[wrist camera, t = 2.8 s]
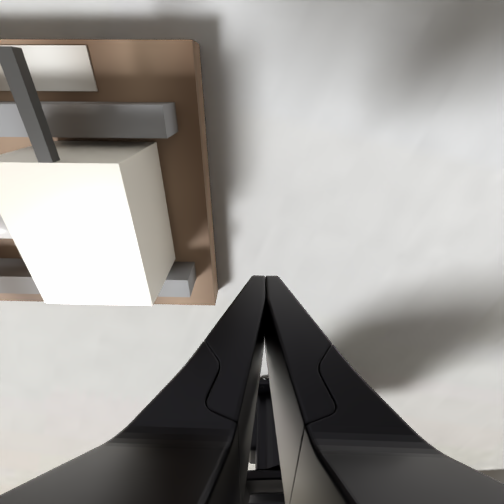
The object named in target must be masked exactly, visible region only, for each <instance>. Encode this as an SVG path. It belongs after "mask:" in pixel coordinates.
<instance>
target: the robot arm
mask: <svg viewBox="0 0 504 504" xmlns="http://www.w3.org/2000/svg"><path fill="white" fill-rule="evenodd" d="M264 338H265V352H266V359H267V367H268V375H269V380H260V372H261V365H262V357H263V349H264ZM249 462H250V463H251V464H255V470H248V463H249ZM247 470H248V471H247ZM0 504H504V484H503V483H501V482H499V481H497V480H495V479H493V478H491V477H489V476H487V475H485V474H483V473H481V472H479V471H477V470H475V469H473V468H471V467H469V466H467V465H465V464H463V463H461V462H459V461H456V460H454V459H452V458H450V457H449V456H447V455H445V454H443V453H442V452H440V451H439V450H437V449H436V448H434V447H433V446H432V445H430V444H429V443H427V442H426V441H425V440H424V439H423V438H422V437H420V436H419V435H418V434H417V433H416V432H415V431H414V430H413V429H412V428H411V427H410V426H409V425H408V424H407V423H406V422H405V421H404V420H403V419H402V418H401V417H400V416H399V415H398V414H397V413H396V412H395V411H394V410H393V409H392V408H391V407H390V406H389V405H388V404H387V403H386V402H385V401H384V400H383V399H382V398H381V397H380V396H379V395H378V394H377V393H376V392H375V391H374V390H373V389H372V388H371V387H370V386H369V385H368V384H367V383H366V382H365V381H364V380H363V379H362V378H361V376H360V375H359V374H358V373H357V372H356V371H355V370H354V369H353V368H352V367H351V366H350V364H349V363H348V362H347V361H346V360H345V358H344V357H343V356H342V355H341V354H340V352H339V351H338V350H337V349H336V347H335V346H334V345H332V343H331V341H330V340H329V339H328V338H327V336H326V335H325V334H324V333H323V331H322V330H321V329H320V328H319V326H318V325H317V324H316V323H315V321H314V320H313V319H312V318H311V316H310V315H309V314H308V313H307V311H306V310H305V309H304V308H303V306H302V305H301V304H300V303H299V301H298V300H297V299H296V298H295V296H294V295H293V294H292V293H291V291H290V290H289V289H288V288H287V286H286V285H285V284H284V283H283V281H282V280H281V279H280V278H279V277H278V276H266V277H265V276H256V275H254V276H252V277H251V278H250V280H249V281H248V282H247V284H246V285H245V286H244V288H243V289H242V290H241V292H240V293H239V294H238V296H237V297H236V298H235V300H234V301H233V302H232V304H231V305H230V306H229V308H228V309H227V310H226V312H225V313H224V314H223V316H222V317H221V318H220V320H219V321H218V322H217V324H216V325H215V327H214V328H213V329H212V331H211V332H210V333H209V335H208V336H207V337H206V339H205V340H204V342H202V344H201V345H200V346H199V348H198V349H197V351H196V352H195V353H194V354H193V356H192V357H191V358H190V359H189V361H188V362H187V363H186V364H185V366H184V367H183V368H182V369H181V370H180V371H179V372H178V373H177V374H176V375H175V377H174V378H173V379H172V380H171V381H170V382H169V383H168V384H167V385H166V386H165V387H164V388H163V389H162V390H161V391H160V393H159V394H158V395H157V396H156V397H155V398H154V399H153V400H152V401H151V402H150V403H149V404H148V405H147V406H146V407H145V408H144V409H143V410H142V411H141V412H140V414H139V415H138V416H137V417H136V418H135V419H134V420H133V421H132V422H131V423H130V424H129V425H128V426H127V427H126V428H124V429H123V430H122V431H121V432H120V433H118V434H117V435H116V436H115V437H113V438H112V439H110V440H109V441H107V442H106V443H104V444H102V445H100V446H98V447H96V448H94V449H92V450H90V451H88V452H86V453H84V454H82V455H80V456H78V457H76V458H74V459H72V460H70V461H68V462H66V463H64V464H62V465H60V466H58V467H56V468H54V469H52V470H50V471H48V472H46V473H44V474H42V475H40V476H38V477H36V478H34V479H32V480H30V481H28V482H26V483H24V484H22V485H20V486H18V487H16V488H14V489H12V490H10V491H8V492H6V493H4V494H2V495H0Z"/></svg>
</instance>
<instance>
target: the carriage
mask: <svg viewBox="0 0 504 504" xmlns="http://www.w3.org/2000/svg"><path fill="white" fill-rule="evenodd" d="M0 64H1V67H2V70H3V72H4V75H5V77H6V80H7V82H8V85H9V88H10V90H11V93H12V95H13V98H14V101H15V103H16V106H17V108H18V111H19V113H20V116H21V119H22V121H23V124H24V126H25V129H26V132H27V134H28V137H29V139H30V142H31V145H32V146H29V147H26V148H22V149H19V150H15V151H11V152H8V153H4V154H1V155H0V238H5V239H13V240H14V242H15V244H16V246H17V248H18V250H19V252H20V254H21V256H22V258H23V260H24V262H25V264H26V266H27V268H28V270H29V272H30V274H31V276H32V278H33V280H34V282H35V284H36V286H37V288H38V290H39V292H40V294H41V296H42V298H43V300H44V302H45V304H86V305H130V306H153V305H154V302H155V300H156V298H157V296H158V294H159V292H160V290H161V288H162V286H163V284H164V282H165V280H166V278H167V276H168V273H169V271H170V269H171V267H172V265H173V263H174V261H175V259H176V258H175V252H174V246H173V240H172V234H171V228H170V221H169V215H168V209H167V203H166V197H165V191H164V185H163V179H162V173H161V167H160V161H159V155H158V149H157V143H156V142H120V141H53V138H52V135H51V132H50V129H49V126H48V123H47V120H46V117H45V115H44V112H43V109H42V106H41V103H40V100H39V97H38V94H37V91H36V88H35V86H34V83H33V80H32V77H31V74H30V71H29V68H28V65H27V62H26V60H25V57H24V54H23V51H22V48H19V47H12V46H0Z"/></svg>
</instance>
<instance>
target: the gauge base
mask: <svg viewBox="0 0 504 504" xmlns="http://www.w3.org/2000/svg"><path fill="white" fill-rule="evenodd" d="M0 46H12V47H19V48H22V51H23V54H24V57H25V60H26V62H27V65H28V68H29V71H30V74H31V77H32V80H33V83H34V86H35V88H36V91H37V94H38V97H39V100H40V103H41V106H42V109H43V112H44V115H45V117H46V120H47V123H48V126H49V129H50V132H51V135H52V138H53V141H120V142H156V143H157V149H158V155H159V161H160V167H161V173H162V179H163V185H164V191H165V197H166V203H167V209H168V215H169V221H170V228H171V234H172V240H173V246H174V252H175V258H176V259H175V261H174V263H173V265H172V267H171V269H170V271H169V273H168V276H167V278H166V280H165V282H164V284H163V286H162V288H161V290H160V292H159V294H158V296H157V298H156V300H155V302H154V304H179V305H215V303H216V298H217V293H218V284H217V271H216V258H215V245H214V232H213V219H212V205H211V192H210V179H209V166H208V153H207V140H206V126H205V113H204V100H203V87H202V74H201V61H200V47H199V44H198V43H197V42H195V41H194V40H134V39H0ZM29 146H32V145H31V142H30V139H29V137H28V134H27V132H26V129H25V126H24V124H23V121H22V119H21V116H20V113H19V111H18V108H17V106H16V103H15V101H14V98H13V95H12V93H11V90H10V88H9V85H8V82H7V80H6V77H5V75H4V72H3V70H2V67H1V64H0V155H1V154H4V153H8V152H11V151H15V150H19V149H22V148H26V147H29ZM0 300H1V301H44V300H43V298H42V296H41V294H40V292H39V290H38V288H37V286H36V284H35V282H34V280H33V278H32V276H31V274H30V272H29V270H28V268H27V266H26V264H25V262H24V260H23V258H22V256H21V254H20V252H19V250H18V248H17V246H16V244H15V242H14V240H13V239H5V238H0Z"/></svg>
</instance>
